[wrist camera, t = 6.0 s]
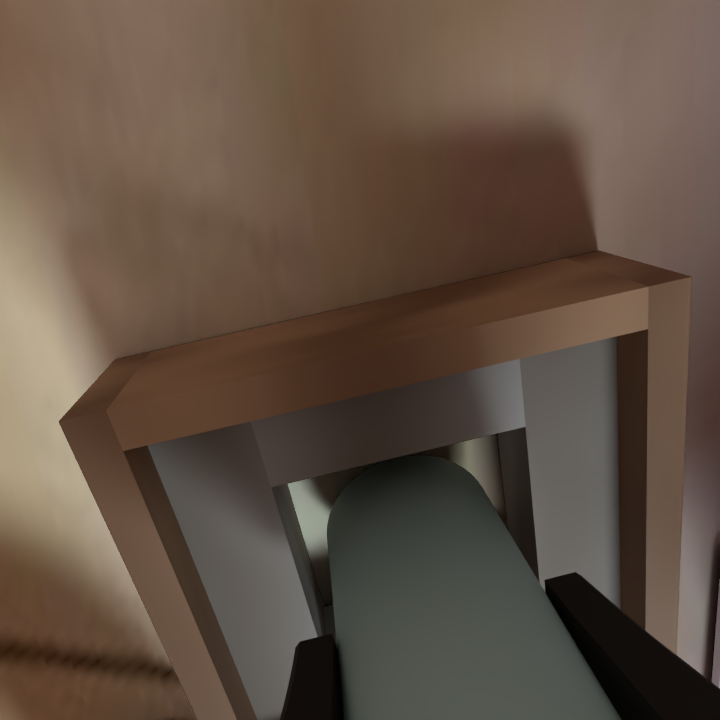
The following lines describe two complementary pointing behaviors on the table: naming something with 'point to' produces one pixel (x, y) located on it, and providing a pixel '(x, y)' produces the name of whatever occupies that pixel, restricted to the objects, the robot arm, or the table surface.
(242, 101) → the table surface
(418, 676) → the peg
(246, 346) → the box
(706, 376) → the table surface
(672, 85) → the table surface
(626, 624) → the robot arm
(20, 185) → the table surface
